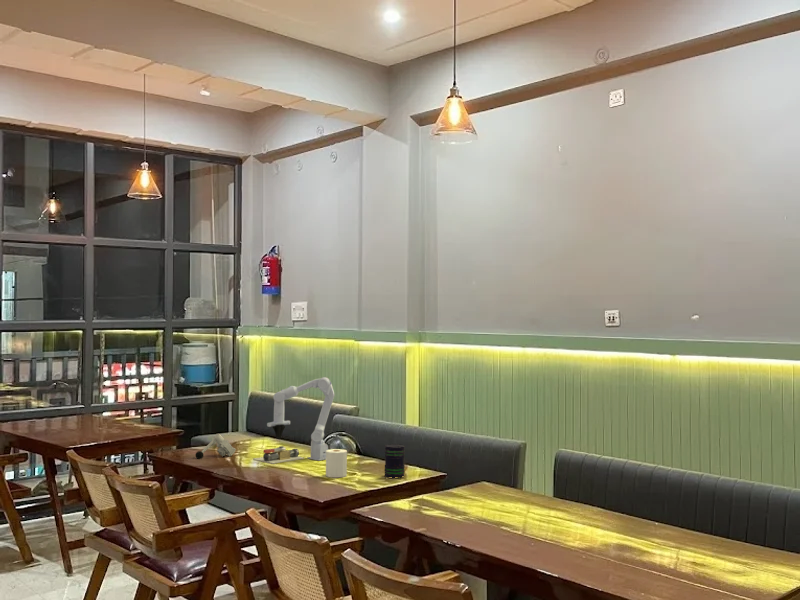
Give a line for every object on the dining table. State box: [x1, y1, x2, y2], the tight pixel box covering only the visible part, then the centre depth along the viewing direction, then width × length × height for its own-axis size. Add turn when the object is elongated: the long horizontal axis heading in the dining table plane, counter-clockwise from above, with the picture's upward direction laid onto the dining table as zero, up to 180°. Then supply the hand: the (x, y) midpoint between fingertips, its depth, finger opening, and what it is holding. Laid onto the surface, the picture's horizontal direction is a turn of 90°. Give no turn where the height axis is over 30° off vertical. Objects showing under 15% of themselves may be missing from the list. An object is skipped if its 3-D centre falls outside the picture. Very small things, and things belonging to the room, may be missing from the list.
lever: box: [262, 445, 287, 454], centre depth 410 cm, size 14×4×2 cm, turn 141°
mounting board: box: [252, 455, 305, 465], centre depth 415 cm, size 16×22×1 cm
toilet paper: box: [325, 448, 348, 478], centre depth 374 cm, size 10×10×12 cm
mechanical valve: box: [195, 433, 237, 460], centre depth 418 cm, size 10×18×15 cm
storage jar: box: [383, 443, 406, 479], centre depth 374 cm, size 10×10×15 cm
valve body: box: [262, 448, 300, 461], centre depth 413 cm, size 6×21×5 cm, turn 138°
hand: (278, 438), depth 418 cm, fingers closed
